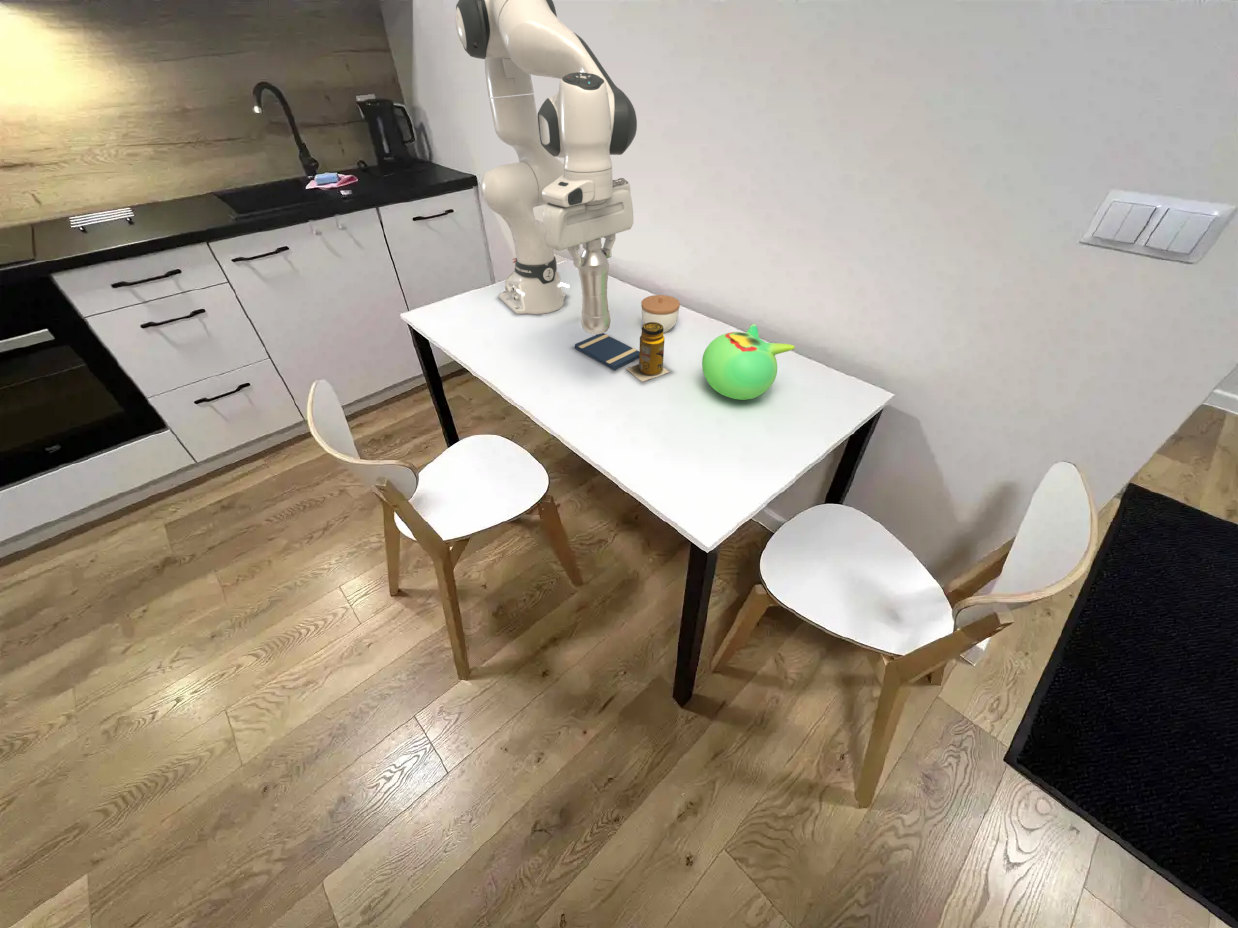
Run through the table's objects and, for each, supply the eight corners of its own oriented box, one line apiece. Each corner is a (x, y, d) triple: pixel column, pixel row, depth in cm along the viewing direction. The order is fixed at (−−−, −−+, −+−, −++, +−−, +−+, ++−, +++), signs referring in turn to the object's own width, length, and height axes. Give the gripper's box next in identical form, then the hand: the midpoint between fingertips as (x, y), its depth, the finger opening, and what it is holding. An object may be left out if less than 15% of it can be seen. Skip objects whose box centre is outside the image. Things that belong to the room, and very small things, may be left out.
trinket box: (675, 319, 146) (677, 288, 140) (680, 336, 138) (682, 304, 132) (639, 320, 146) (640, 289, 140) (641, 337, 138) (642, 305, 132)
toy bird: (687, 379, 122) (692, 324, 112) (744, 365, 127) (754, 311, 117) (726, 419, 109) (736, 361, 100) (789, 401, 114) (804, 344, 104)
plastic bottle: (596, 321, 114) (592, 229, 100) (617, 331, 110) (615, 237, 97) (575, 331, 110) (567, 237, 97) (595, 341, 107) (590, 245, 93)
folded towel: (574, 348, 134) (574, 344, 133) (602, 336, 139) (601, 332, 138) (614, 370, 125) (614, 366, 124) (642, 356, 130) (642, 352, 129)
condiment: (669, 372, 124) (672, 328, 116) (642, 382, 121) (643, 338, 113) (652, 360, 129) (654, 316, 121) (625, 369, 126) (625, 325, 118)
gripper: (618, 174, 98) (619, 246, 107) (534, 192, 88) (543, 271, 97) (640, 178, 94) (640, 253, 103) (555, 198, 84) (563, 279, 93)
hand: (592, 262), depth 100 cm, fingers closed on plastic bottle, 6 cm apart
